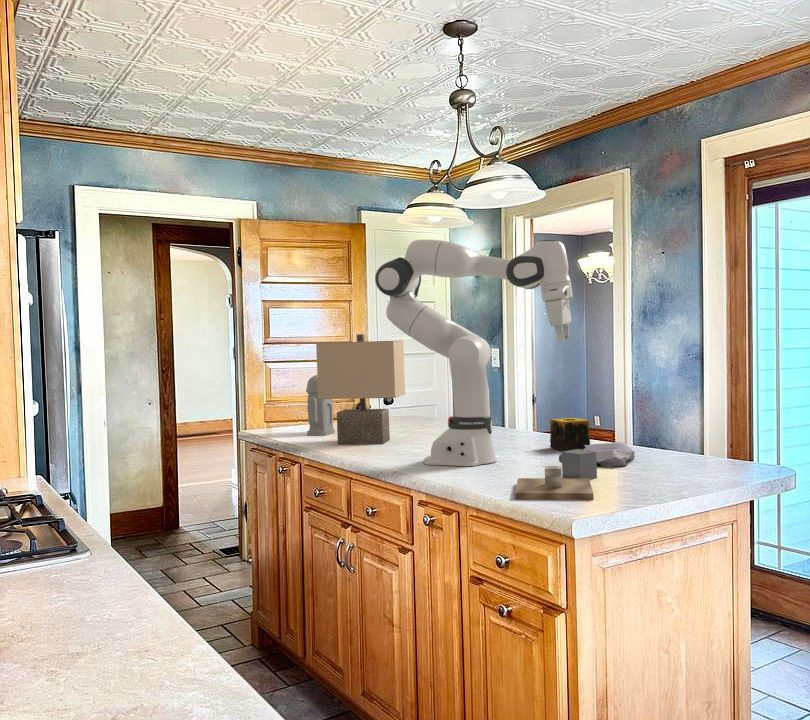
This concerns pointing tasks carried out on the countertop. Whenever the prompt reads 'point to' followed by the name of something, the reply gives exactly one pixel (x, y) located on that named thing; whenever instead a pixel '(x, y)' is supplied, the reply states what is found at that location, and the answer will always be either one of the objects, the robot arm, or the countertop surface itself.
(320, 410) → the grey tall figure
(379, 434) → the lamp
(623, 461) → the stone
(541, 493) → the brown square plate
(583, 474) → the grey block with cylinder
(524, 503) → the countertop surface
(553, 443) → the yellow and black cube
